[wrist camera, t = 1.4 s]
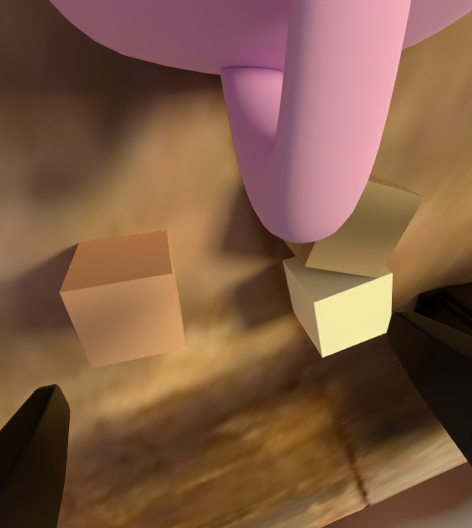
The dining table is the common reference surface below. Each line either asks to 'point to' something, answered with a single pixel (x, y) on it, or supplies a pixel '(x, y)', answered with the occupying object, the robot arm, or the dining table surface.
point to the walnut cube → (364, 232)
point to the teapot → (284, 86)
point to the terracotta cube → (124, 298)
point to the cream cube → (338, 305)
